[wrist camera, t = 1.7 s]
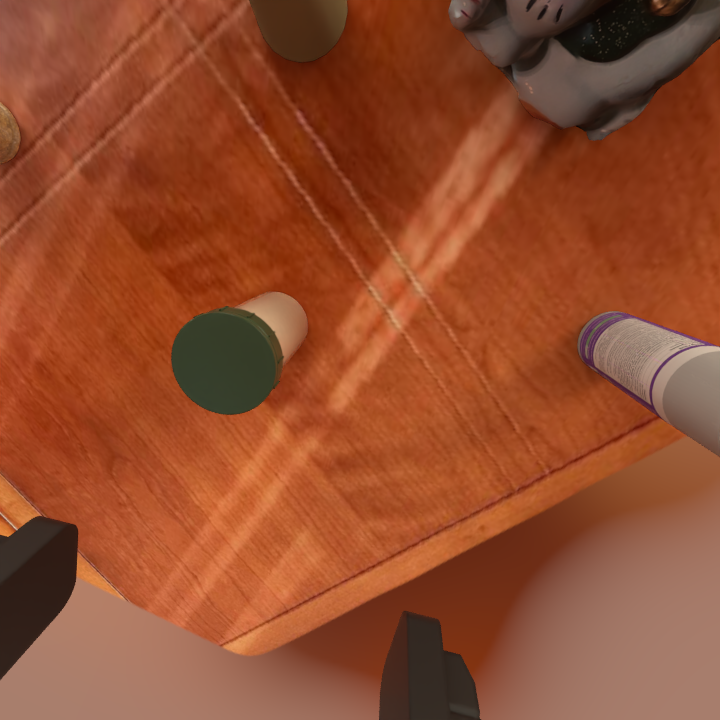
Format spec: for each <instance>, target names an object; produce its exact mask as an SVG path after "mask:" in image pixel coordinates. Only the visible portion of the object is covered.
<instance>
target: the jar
mask: <svg viewBox="0 0 720 720" xmlns="http://www.w3.org/2000/svg"><path fill="white" fill-rule="evenodd" d="M233 308H239V309H243V310H246V311H249V312H251V313H253V312H254V313H255V315H257V316H258V317H260V318H261V319H262V320H263V321H265V322H266V323H267V324H268V325H269V326H270V327H271V329H272V330H273V331H275V332H276V333H275V335H276V336H277V338H278V340H279V343H280V345H281V349H282V354H283V356H284V359H283V367H284V366H285V365H286V363H287V362H288V361H289V360H290V359H291V357H292V356H293V355H294V354H295V353H296V351H297V350H298V349H299V348H300V346H301V345H302V344H303V342H304V341H305V339H306V336H307V332H308V321H307V317H306V314H305V312H304V310H303V308H302V307H301V305H300V304H299V303H298V302H297V301H296V300H295V299H294V298H292V297H290V296H289V295H286V294H284V293H280V292H266V293H263V294H260V295H258V296H256V297H254V298H252V299H250V300H248V301H245V302H243V303H241V304H239V305H237V306H235V307H233Z"/></svg>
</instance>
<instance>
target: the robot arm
mask: <svg viewBox="0 0 720 720" xmlns="http://www.w3.org/2000/svg"><path fill="white" fill-rule="evenodd" d="M77 548H78V528H77V526H76V525H74V524H70V523H66V522H62V521H58V520H54V519H50V518H46V517H43V516H38V517H35V518H33V519H31V520H30V521H28V522H27V523H26V524H25V525H23V526H22V527H21V528H19V529H18V530H17V531H16V532H14V533H13V534H12V535H11V536H9V537H6V536H2V535H0V680H1V679H2V677H3V676H4V675H5V674H6V673H7V672H8V670H10V668H11V667H12V666H13V665H14V664H15V663H16V662H17V660H18V659H19V658H20V657H21V656H22V655H23V654H24V653H25V651H26V650H27V649H28V648H29V647H30V646H31V645H32V643H33V642H34V641H35V640H36V639H37V638H38V637H39V636H40V634H41V633H42V632H43V631H44V630H45V629H46V627H47V626H48V625H49V624H50V623H51V622H52V621H53V620H54V619H55V617H56V616H57V615H58V614H59V613H60V611H61V610H62V609H63V608H64V606H65V605H66V603H67V601H68V600H69V598H70V596H71V594H72V591H73V589H74V586H75V582H76V570H77ZM479 716H480V710H479V705H478V699H477V693H476V687H475V682H474V680H473V678H472V677H471V675H470V673H469V670H468V669H467V667H466V665H465V663H464V661H463V659H462V657H461V655H460V654H456V653H452V652H448V651H444V650H443V643H442V633H441V625H440V622H439V620H438V619H435V618H432V617H427V616H424V615H420V614H416V613H412V612H408V611H403V613H402V615H401V617H400V620H399V623H398V626H397V629H396V632H395V635H394V638H393V641H392V644H391V647H390V650H389V653H388V655H387V658H386V662H385V665H384V670H383V675H382V682H381V690H380V711H379V720H481V719H480V717H479Z"/></svg>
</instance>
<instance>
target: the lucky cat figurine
mask: <svg viewBox="0 0 720 720" xmlns="http://www.w3.org/2000/svg"><path fill="white" fill-rule="evenodd" d="M449 17H450V21H451V23H452V24H453V26H454V27H455V28H456V29H458V30H460V31H461V32H463V33H464V35H465V37H466V39H467V40H468V41H469V42H470V43H471V44H472V46H473V47H474V48H475V49H476V50H481V51H482V52H483V53H484V55H485V56H486V57H487V58H488V59H489V61H491V63H492V64H493V65H495V66H496V67H497V68H498V69H500V70H501V71H502V72H503V73H504V74H505V76H506V77H507V78H508V79H509V80H510V82H511V83H512V84H513V86H514V87H515V89H516V90H517V92H518V93H519V97H518V98H519V100H520V102H521V104H522V105H523V106H524V108H525V109H526V110H527V111H528V112H529V113H530V115H532V116H533V117H535V118H538V119H540V120H543V121H545V122H547V123H550V124H551V125H553V126H555V127H556V128H558V129H564V128H567V127H572V126H577V127H579V128H581V129H583V130H584V131H586V132H587V136H588V138H589V140H593V141H594V140H602V139H603V138H604V137H606V136H607V135H609V134H610V133H612V132H614V131H616V130H618V129H619V128H621V127H623V126H624V125H626V124H628V123H629V122H631V121H632V120H633V119H634V118H636V117H637V116H638V115H639V114H640V113H641V112H642V111H643V110H644V109H645V107H646V106H647V104H648V103H649V102H650V100H651V99H652V97H653V96H654V94H655V93H656V91H657V90H658V89H659V88H660V87H661V86H662V85H664V84H665V83H667V82H669V81H671V80H673V79H674V78H676V77H677V76H678V75H680V74H681V73H682V72H683V71H684V70H685V69H687V68H688V67H689V66H690V65H691V64H692V63H693V62H694V61H695V60H696V59H697V58H698V57H699V56H701V55H702V54H703V53H704V52H705V51H706V50H707V49H708V48H709V47H710V46H711V45H712V44H713V43H714V42H716V41H717V40H718V39H720V0H452V1H451V4H450V7H449Z"/></svg>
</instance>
